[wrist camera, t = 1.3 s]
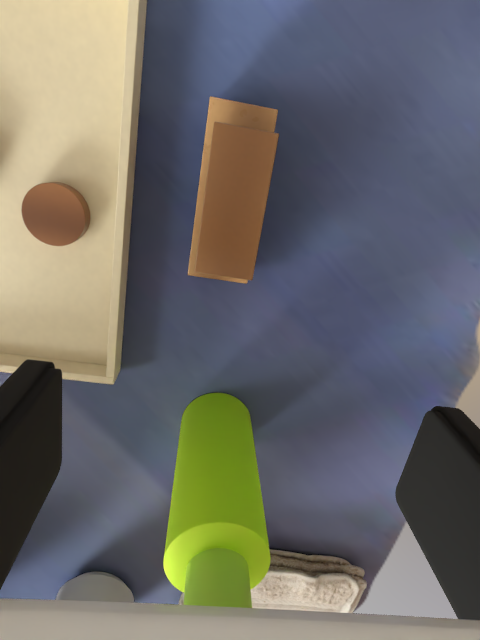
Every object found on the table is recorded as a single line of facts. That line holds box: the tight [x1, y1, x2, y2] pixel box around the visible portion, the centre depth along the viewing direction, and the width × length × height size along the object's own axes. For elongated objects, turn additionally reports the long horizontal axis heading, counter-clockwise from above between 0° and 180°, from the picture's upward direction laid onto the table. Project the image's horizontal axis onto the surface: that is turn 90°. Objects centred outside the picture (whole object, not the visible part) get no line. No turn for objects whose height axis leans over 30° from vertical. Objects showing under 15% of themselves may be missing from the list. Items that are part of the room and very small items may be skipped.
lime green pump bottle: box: [163, 393, 270, 608], centre depth 25 cm, size 6×7×20 cm
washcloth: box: [178, 549, 367, 613], centre depth 40 cm, size 12×18×3 cm, turn 78°
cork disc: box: [21, 182, 90, 246], centre depth 27 cm, size 4×4×1 cm
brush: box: [188, 97, 279, 284], centre depth 24 cm, size 4×11×9 cm, turn 170°
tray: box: [0, 0, 147, 384], centre depth 26 cm, size 25×15×2 cm, turn 170°
